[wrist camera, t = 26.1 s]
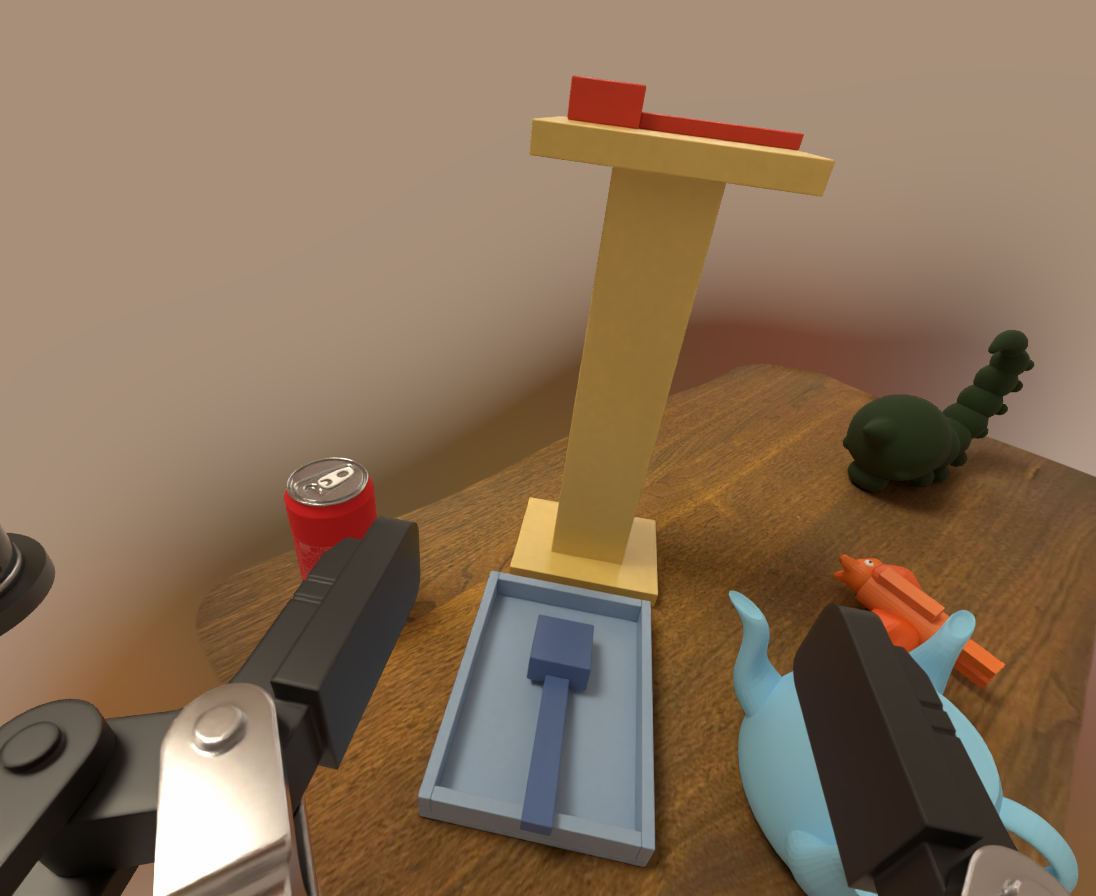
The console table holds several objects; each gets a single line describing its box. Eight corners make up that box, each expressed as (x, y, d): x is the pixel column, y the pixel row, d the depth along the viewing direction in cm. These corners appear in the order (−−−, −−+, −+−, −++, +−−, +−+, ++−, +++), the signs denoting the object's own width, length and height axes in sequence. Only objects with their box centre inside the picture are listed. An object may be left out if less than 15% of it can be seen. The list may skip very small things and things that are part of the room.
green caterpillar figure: (907, 448, 72) (791, 470, 60) (993, 316, 62) (876, 310, 50) (978, 488, 65) (864, 522, 53) (1087, 347, 55) (979, 350, 43)
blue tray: (418, 816, 28) (417, 796, 27) (489, 590, 41) (491, 569, 40) (645, 868, 27) (655, 850, 26) (644, 621, 40) (650, 601, 39)
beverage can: (295, 609, 38) (263, 480, 31) (355, 568, 42) (338, 445, 35) (340, 649, 36) (316, 520, 29) (399, 603, 39) (390, 478, 33)
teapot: (1048, 989, 25) (1227, 924, 19) (746, 969, 24) (839, 896, 19) (890, 699, 37) (971, 606, 32) (685, 680, 37) (730, 582, 31)
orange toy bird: (1032, 640, 36) (871, 529, 44) (964, 704, 34) (808, 575, 42) (1001, 670, 39) (857, 562, 47) (937, 730, 37) (798, 606, 45)
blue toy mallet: (495, 824, 26) (499, 800, 25) (535, 634, 38) (538, 613, 37) (574, 842, 26) (580, 818, 25) (589, 645, 37) (594, 624, 37)
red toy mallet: (804, 152, 28) (819, 107, 27) (566, 119, 29) (571, 75, 28) (787, 147, 31) (799, 108, 30) (574, 118, 32) (579, 78, 31)
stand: (495, 581, 42) (531, 118, 24) (519, 503, 50) (560, 116, 32) (666, 614, 41) (836, 160, 23) (662, 530, 49) (785, 146, 32)
